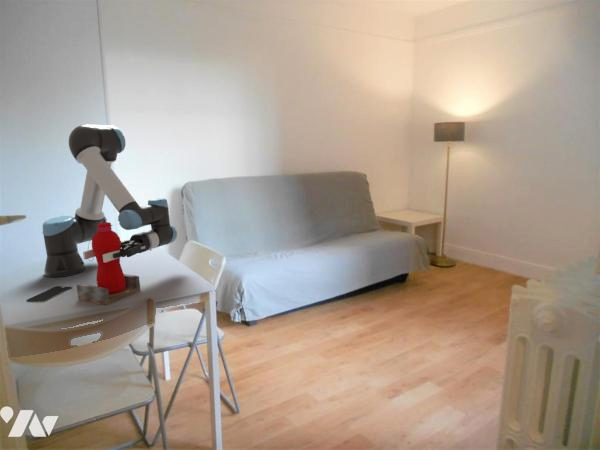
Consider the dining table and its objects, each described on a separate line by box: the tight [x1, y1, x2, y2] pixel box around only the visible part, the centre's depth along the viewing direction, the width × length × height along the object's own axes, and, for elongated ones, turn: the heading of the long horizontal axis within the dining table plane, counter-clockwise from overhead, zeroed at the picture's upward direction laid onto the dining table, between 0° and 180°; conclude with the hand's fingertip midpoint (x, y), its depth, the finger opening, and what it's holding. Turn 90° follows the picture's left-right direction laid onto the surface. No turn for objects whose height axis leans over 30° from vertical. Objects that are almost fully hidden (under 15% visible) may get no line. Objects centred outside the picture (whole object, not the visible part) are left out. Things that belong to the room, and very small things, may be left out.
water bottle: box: [87, 221, 126, 294], centre depth 145 cm, size 9×11×25 cm
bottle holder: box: [76, 273, 141, 306], centre depth 148 cm, size 14×15×6 cm
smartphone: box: [25, 285, 73, 303], centre depth 151 cm, size 8×1×15 cm
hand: (93, 257), depth 141 cm, fingers open, 9 cm apart
